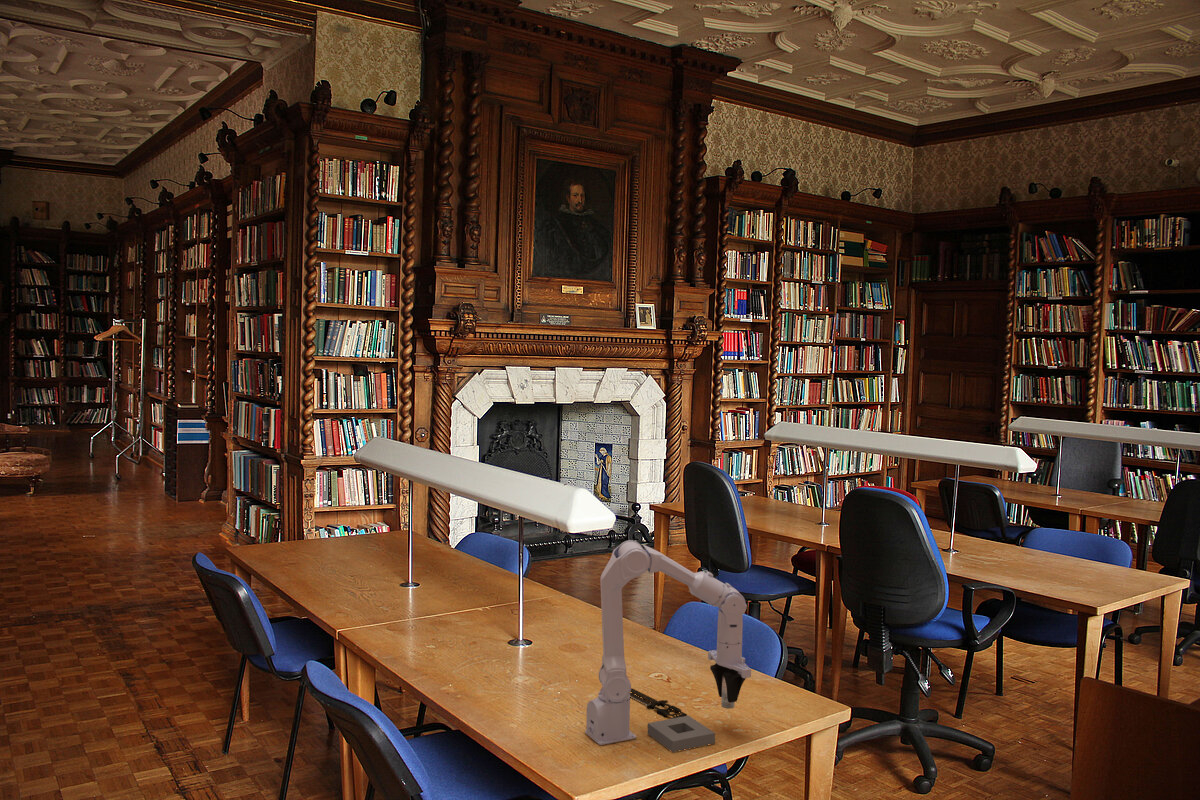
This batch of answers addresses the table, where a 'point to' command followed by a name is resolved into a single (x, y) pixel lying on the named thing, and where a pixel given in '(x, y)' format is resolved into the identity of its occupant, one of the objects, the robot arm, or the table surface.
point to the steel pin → (725, 696)
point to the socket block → (681, 733)
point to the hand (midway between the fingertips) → (728, 698)
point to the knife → (655, 702)
